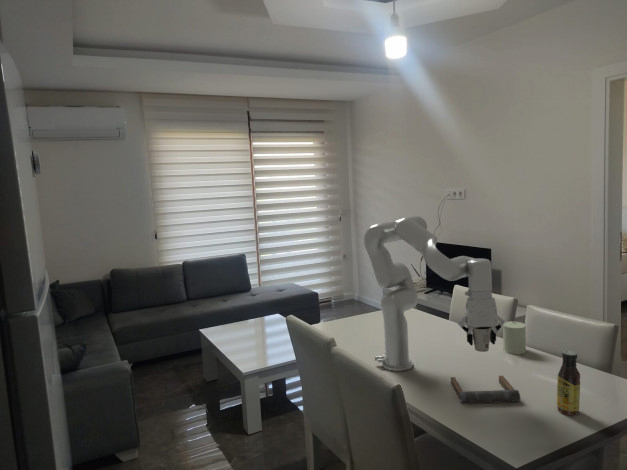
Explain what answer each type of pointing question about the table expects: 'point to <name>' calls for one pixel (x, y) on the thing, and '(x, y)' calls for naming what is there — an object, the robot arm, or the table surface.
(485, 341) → the coffee cup
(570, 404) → the sauce bottle
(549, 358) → the table surface
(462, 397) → the bay
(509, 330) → the can
